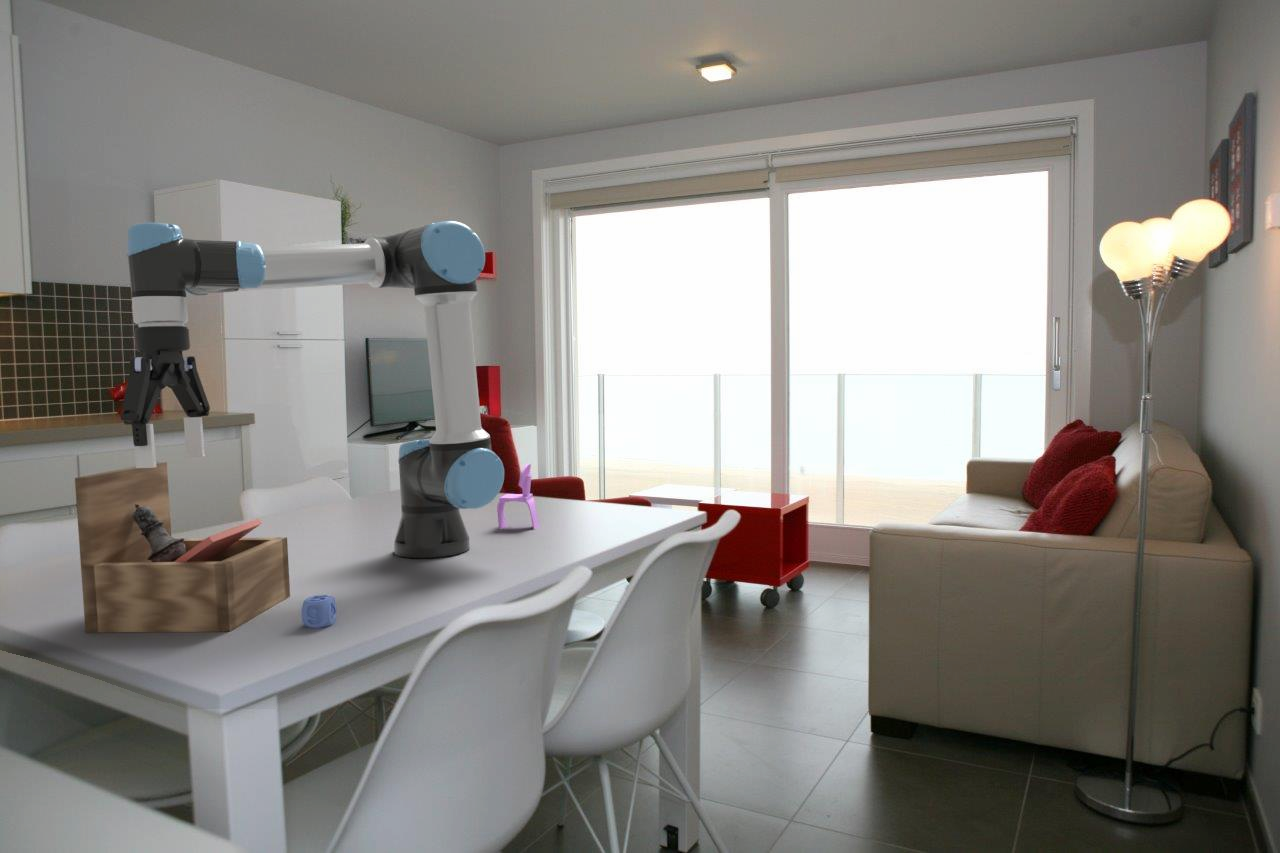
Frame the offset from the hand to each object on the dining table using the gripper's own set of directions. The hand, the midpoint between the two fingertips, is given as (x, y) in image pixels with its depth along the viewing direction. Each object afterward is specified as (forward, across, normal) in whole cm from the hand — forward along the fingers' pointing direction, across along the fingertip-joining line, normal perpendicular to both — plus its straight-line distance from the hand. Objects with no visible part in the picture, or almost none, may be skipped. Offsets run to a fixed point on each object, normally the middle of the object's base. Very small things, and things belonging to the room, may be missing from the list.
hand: (172, 462), depth 143 cm
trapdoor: (+14, 0, +4) cm, 15 cm away
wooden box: (+24, 0, +2) cm, 24 cm away
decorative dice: (+24, +7, +25) cm, 36 cm away
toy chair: (+26, -71, +40) cm, 85 cm away
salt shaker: (+17, 0, 0) cm, 17 cm away
